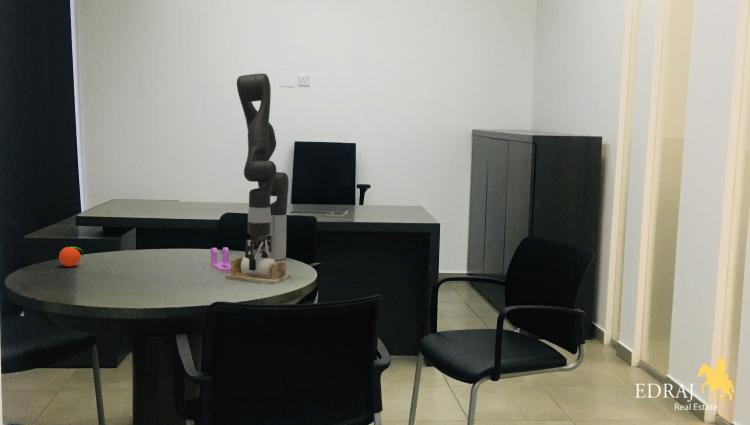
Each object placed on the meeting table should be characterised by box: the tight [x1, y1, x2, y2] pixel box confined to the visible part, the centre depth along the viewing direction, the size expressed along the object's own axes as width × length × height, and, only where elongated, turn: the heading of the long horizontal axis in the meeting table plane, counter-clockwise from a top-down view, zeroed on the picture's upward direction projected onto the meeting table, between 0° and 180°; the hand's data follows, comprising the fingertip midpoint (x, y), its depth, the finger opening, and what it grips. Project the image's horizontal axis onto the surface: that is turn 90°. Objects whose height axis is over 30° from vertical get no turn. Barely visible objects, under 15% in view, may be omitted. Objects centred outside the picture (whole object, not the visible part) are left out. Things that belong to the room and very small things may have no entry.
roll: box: [241, 256, 276, 277], centre depth 256 cm, size 11×6×6 cm, turn 71°
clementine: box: [58, 246, 85, 268], centre depth 264 cm, size 8×7×7 cm
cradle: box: [225, 256, 291, 285], centre depth 256 cm, size 12×18×6 cm, turn 71°
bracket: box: [210, 246, 231, 273], centre depth 270 cm, size 13×6×7 cm, turn 27°
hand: (258, 268), depth 256 cm, fingers open, 8 cm apart
